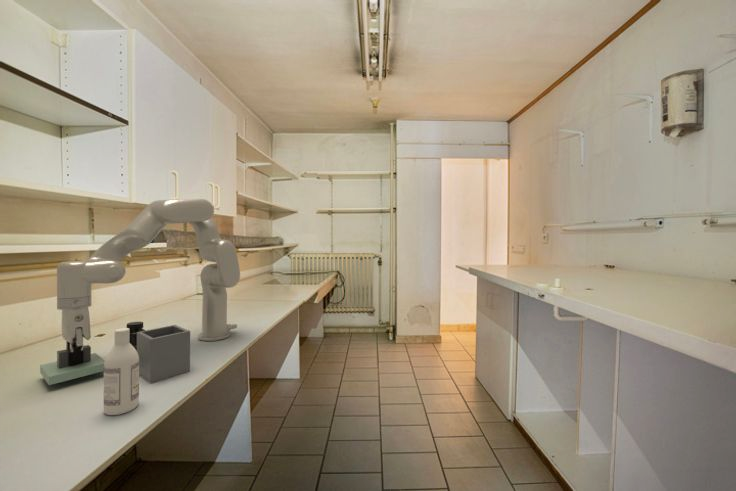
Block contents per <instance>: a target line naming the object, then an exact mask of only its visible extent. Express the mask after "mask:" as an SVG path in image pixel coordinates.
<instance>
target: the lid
mask: <svg viewBox="0 0 736 491" xmlns="http://www.w3.org/2000/svg"><path fill="white" fill-rule="evenodd" d="M69 352H70V349H66V348H65V349H62V350H57V351H56V361H52V362H48V363H44V364H40V365H39V373H40V375H41V376H42V377H43V379H44V380H45V382H46V383H47V384H48V386H51V385H56V384H58V383H63V382H67V381H71V380H74V379H77V378H79V379H80V378H82V377H86V376H90V375H94V374H97V373H101V372H104V362H105V359H104V358H102V357H101V356H100V355H98V354H97V353H96V352H93V353H92V347H91V346H90V345H89V344H87V345H83V363H81V364H77V365H73V366H69Z"/></svg>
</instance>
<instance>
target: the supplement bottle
mask: <svg viewBox="0 0 736 491" xmlns="http://www.w3.org/2000/svg"><path fill="white" fill-rule="evenodd" d="M125 328H129V329H130V338H129V343H130V344H131V345H132V346H133V347H134V348H135V349H136V351H137V332H141V331H146V330H145V329H144V322H143V321H131V322H128V323H126V327H125Z"/></svg>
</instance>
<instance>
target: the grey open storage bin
mask: <svg viewBox="0 0 736 491" xmlns="http://www.w3.org/2000/svg"><path fill="white" fill-rule="evenodd" d="M163 335H165V336H163ZM137 353H138V356H139V377H140V378H142V379H144V380H145V381H146V382H148V384H153V383H156V382H160V381H162V380H166V379H169V378H172V377H175V376H179V375H182V374H185V373H188V372H190V371H191V330H189V329H186V328H183V327H182V326H179V325H177V324H172V325H166V326H162V327H158V328H157V327H156V328H152V329H147V330H146V331H141V332H137Z"/></svg>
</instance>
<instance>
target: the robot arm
mask: <svg viewBox="0 0 736 491" xmlns="http://www.w3.org/2000/svg"><path fill="white" fill-rule="evenodd" d="M214 214H215V208H214V205H213V204H212V203H211V202H210V201H209V200H207V199H204V198H194V199H160V200H159V199H158V200H154V201H152V202H150V203H149V204H148V205H147V206H145V208H143V210H142V211H140V213H139V214H138V215H137V216H136V217H135V218H134V219H133V220H132V221H131V222H130V223H129V224H128V225H127V226H126V227H125V228H124V229H123V230H122V231H120V232H119V233H117V234H116V235H114V236H113V237H112V238H110V239H108V240H107V241H105V243H103V244H102V245H101V246H100V247H99V248H98V249H97V250H96V251H94V253H92V254H91V256H89V257H88V259H86V261H85V260H70V261H69V260H68V261H62V262H59V263H58V264H57V266H56V308H57V309H56V310H59V311H61V336H62V338H63V339H64V340H65V341H66V342H65V344H66V345H65V346H66V347H65V350H66V349H70V352H69V366H73V365H77V364H81V363H83V346H84V339H85V340H86V341H89V340H90V339H91V337H92V336H91V319H90V310H89V307H92V284H103V285H104V284H114V283H117V282H119V281H121V280H122V279H123V278H124V277H125V275H126V267H125V265H124V264H123V263H121V260H122V259H124V258H125V257H126V256H128V255H129V254H131V253H133V252H135V251H139V250H142V249H143V248H145V247H147V246H149V245H151V243H152V242H153V240H155V238H156V237H157V236H159V234H160V233H161V231H162V230H163V229H164V228H165V227H166V226H167V225H168V224H170V225H171V224H190V226H192V228H193V230H194V233H195V236H196V241H197V246H198V252H199V257H201V259H202V260H203V261H206V262H212V263H209V264H206V265H205V266H203V268H202V269H201V272H200V277H199V278H200V284H201V289H202V309H201V310H202V316H201V318H202V319H201V320H202V321H201V322H202V323H201V326H202V328H201V332H200V333H199V334H198V335H197V339H198V340H199V341H203V342H215V341H220V340H224V339H227V338H229V337H230V336H231V330H235V329H237V328H238V324H237V323H235V324H230V323H229V324H228V321H227V320H228V292H227V289H230V288H234V287H235V286H237V285H238V283H239V281H240V278H241V271H240V264H239V259H238V258H239V257H238V253H237V248H236V247H235V245H234V243H232V241H230V240H228V239H221V236H220V233H219V229H218V225H217V223H216V221H215V219H214V218H213V216H214Z"/></svg>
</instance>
